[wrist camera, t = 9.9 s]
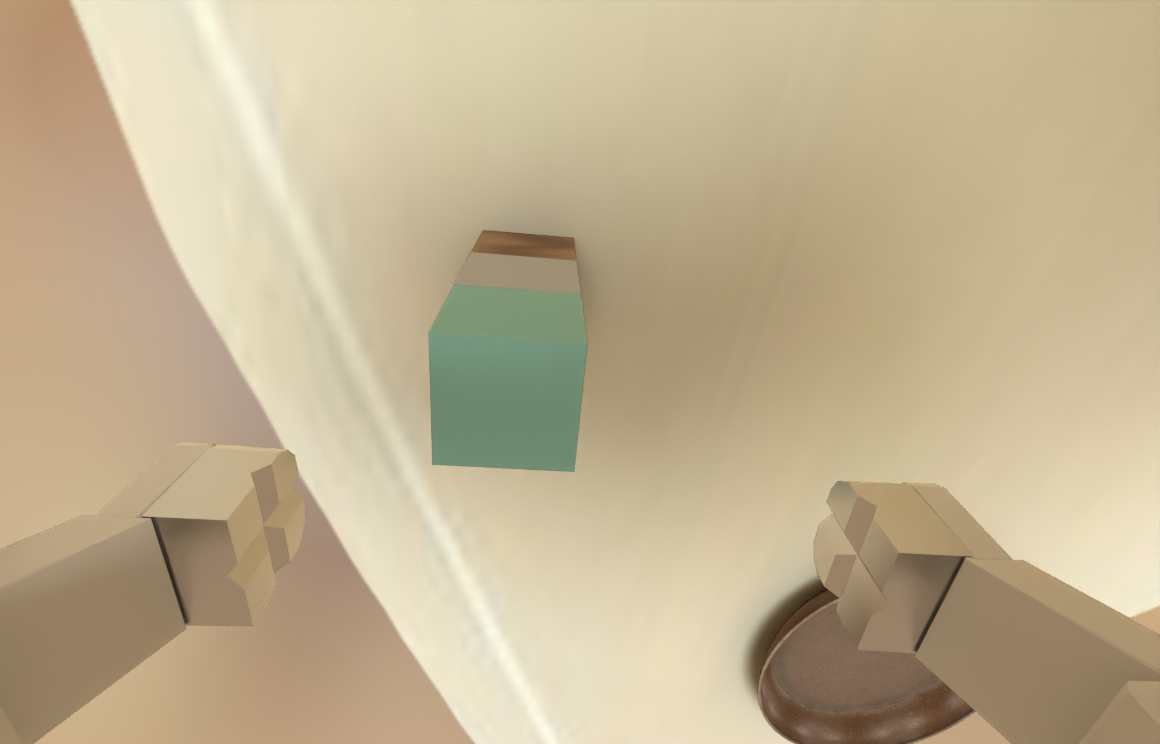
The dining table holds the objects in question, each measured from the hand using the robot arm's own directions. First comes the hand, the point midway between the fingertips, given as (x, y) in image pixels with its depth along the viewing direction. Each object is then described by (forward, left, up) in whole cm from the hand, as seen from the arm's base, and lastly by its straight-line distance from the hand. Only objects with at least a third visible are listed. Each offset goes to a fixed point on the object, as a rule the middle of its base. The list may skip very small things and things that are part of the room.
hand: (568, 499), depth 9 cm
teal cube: (+2, +4, -15) cm, 15 cm away
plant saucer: (-28, +33, -25) cm, 50 cm away
